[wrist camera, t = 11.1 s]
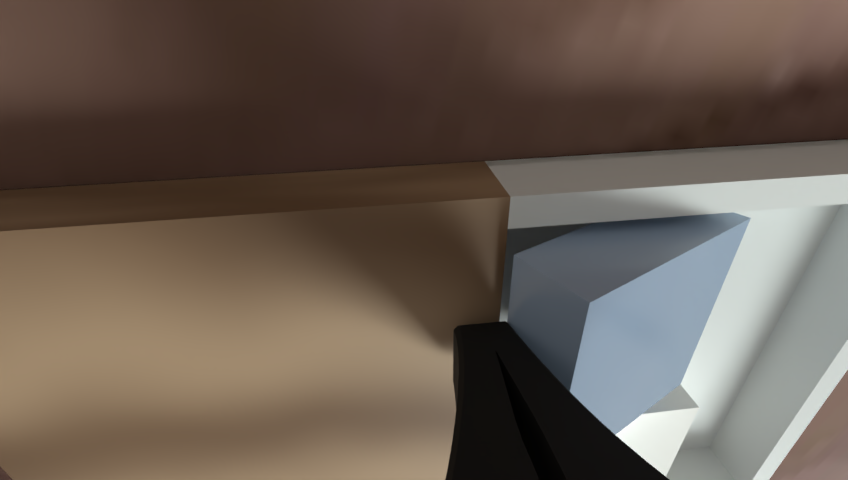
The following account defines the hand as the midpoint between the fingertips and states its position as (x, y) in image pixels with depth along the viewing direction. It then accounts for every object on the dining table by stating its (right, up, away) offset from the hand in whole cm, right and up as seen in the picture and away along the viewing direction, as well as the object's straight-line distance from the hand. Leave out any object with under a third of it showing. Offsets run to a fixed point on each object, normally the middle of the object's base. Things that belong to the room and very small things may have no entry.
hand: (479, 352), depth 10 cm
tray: (+6, -1, +5) cm, 8 cm away
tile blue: (+3, +1, +1) cm, 4 cm away
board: (-7, -2, +4) cm, 8 cm away
